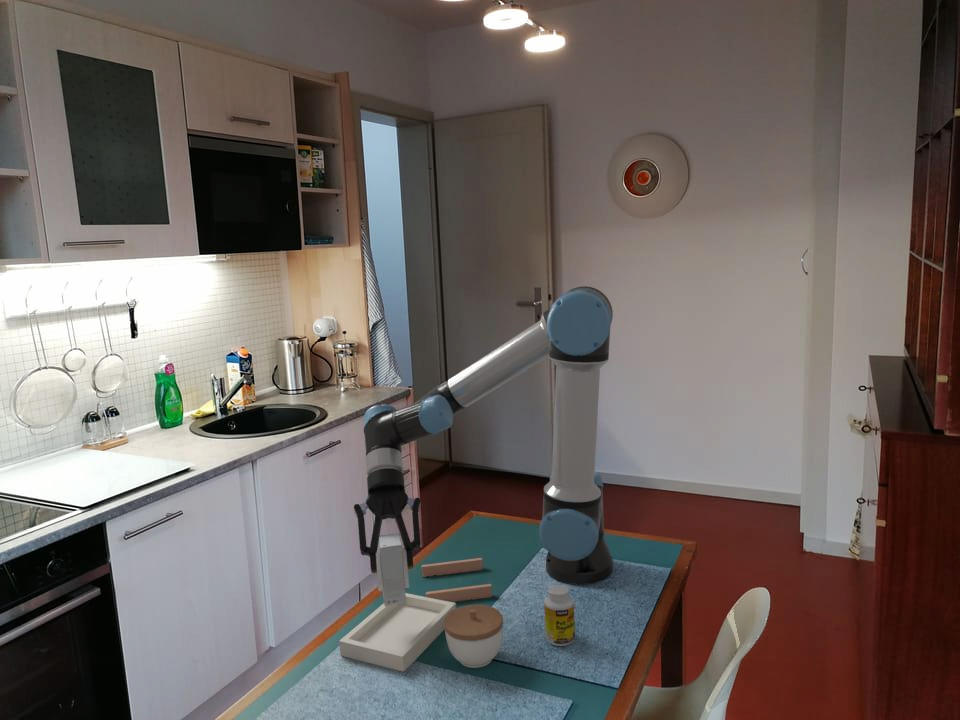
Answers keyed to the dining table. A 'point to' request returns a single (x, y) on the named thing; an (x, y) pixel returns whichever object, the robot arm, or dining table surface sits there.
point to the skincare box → (392, 569)
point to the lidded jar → (474, 634)
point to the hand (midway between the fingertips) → (393, 586)
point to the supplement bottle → (559, 616)
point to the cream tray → (397, 632)
